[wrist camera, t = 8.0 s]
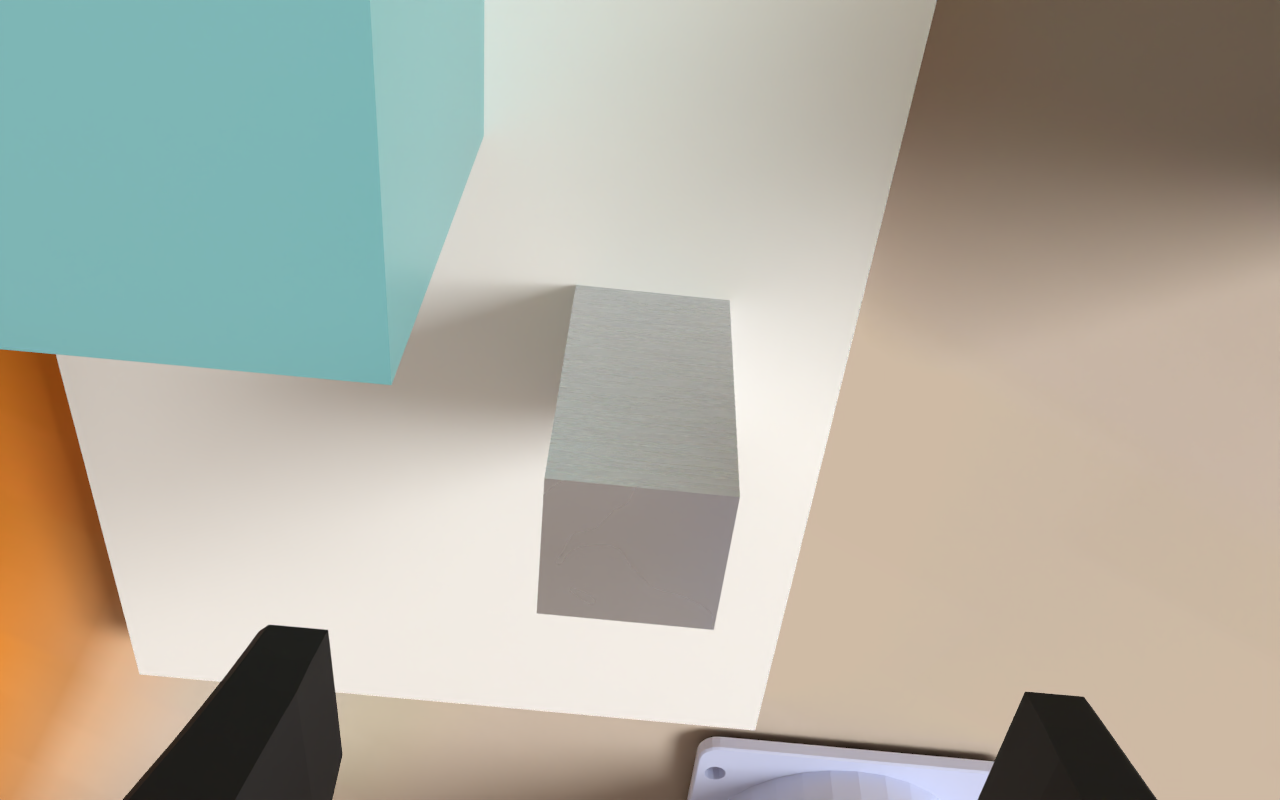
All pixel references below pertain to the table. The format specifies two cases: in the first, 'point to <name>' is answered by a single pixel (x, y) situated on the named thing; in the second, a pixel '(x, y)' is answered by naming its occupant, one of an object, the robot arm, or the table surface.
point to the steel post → (641, 461)
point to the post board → (534, 371)
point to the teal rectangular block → (232, 177)
